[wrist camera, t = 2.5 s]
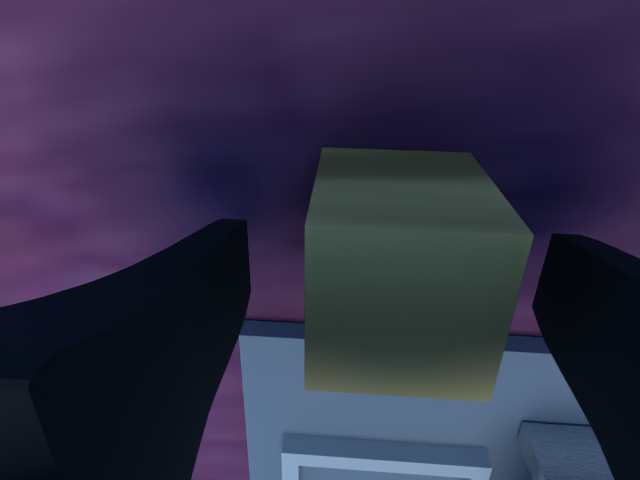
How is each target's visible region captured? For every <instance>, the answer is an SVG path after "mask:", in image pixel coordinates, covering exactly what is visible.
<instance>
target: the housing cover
mask: <svg viewBox="0 0 640 480" xmlns="http://www.w3.org/2000/svg"><path fill="white" fill-rule="evenodd" d="M517 439H518V442H519V445H520V447H521V450H522V453H523V455H524V458H525V461H526V463H527V466H528V469H529V471H530V474H531V477H532V479H533V480H614V478H613V476H612V473H611V471H610V468H609V466H608V464H607V461H606V459H605V456H604V454H603V452H602V449H601V447H600V444H599V442H598V440H597V438H596V436H595V434H594V432H593V430H592V428H591V427H585V426H570V425H556V424H541V423H526V422H522V425H521V429H520V432H519V435H518V438H517Z"/></svg>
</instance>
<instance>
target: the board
mask: <svg viewBox="0 0 640 480" xmlns="http://www.w3.org/2000/svg"><path fill="white" fill-rule="evenodd" d="M304 340H305V323H287V322H270V321H253V320H244V323H243V326H242V329H241V332H240V334H239V344H240V357H241V370H242V383H243V395H244V408H245V421H246V434H247V447H248V460H249V473H250V480H533V479H532V477H531V474H530V471H529V469H528V466H527V463H526V461H525V458H524V455H523V453H522V450H521V447H520V445H519V442H518V439H517V438H518V435H519V432H520V429H521V425H522V422H526V423H541V424H556V425H570V426H585V427H591V426H590V424H589V422H588V420H587V418H586V417H585V415H584V413H583V411H582V409H581V408H580V406H579V404H578V402H577V400H576V398H575V397H574V395H573V393H572V391H571V389H570V388H569V386H568V384H567V382H566V380H565V379H564V377H563V375H562V373H561V371H560V370H559V368H558V366H557V364H556V362H555V360H554V359H553V357H552V355H551V353H550V351H549V349H548V347H547V345H546V343H545V341H544V339H543V337H528V336H511V335H508V337H507V341H506V345H505V349H504V353H503V357H502V360H501V364H500V368H499V372H498V376H497V380H496V384H495V387H494V391H493V395H492V399H491V402H479V401H464V400H448V399H433V398H417V397H401V396H386V395H370V394H355V393H339V392H323V391H308V390H304Z"/></svg>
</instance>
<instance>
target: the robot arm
mask: <svg viewBox="0 0 640 480" xmlns="http://www.w3.org/2000/svg"><path fill="white" fill-rule="evenodd" d="M250 293H251V285H250V268H249V251H248V234H247V220H238V219H220V220H217V221H215V222H213V223H211V224H209V225H207V226H205V227H204V228H202V229H200V230H198V231H197V232H195V233H193V234H191V235H190V236H188V237H186V238H184V239H182V240H181V241H179V242H177V243H175V244H174V245H172V246H170V247H168V248H166V249H164V250H162V251H160V252H158V253H156V254H154V255H152V256H150V257H148V258H146V259H144V260H142V261H140V262H138V263H136V264H134V265H132V266H130V267H127V268H125V269H123V270H120V271H118V272H116V273H113V274H110V275H108V276H105V277H103V278H100V279H97V280H95V281H92V282H89V283H86V284H83V285H80V286H77V287H73V288H70V289H67V290H64V291H60V292H57V293H54V294H51V295H47V296H44V297H41V298H37V299H33V300H29V301H25V302H21V303H17V304H13V305H9V306H4V307H0V480H191V477H192V473H193V469H194V465H195V461H196V457H197V454H198V450H199V446H200V443H201V439H202V435H203V432H204V428H205V425H206V421H207V417H208V414H209V411H210V408H211V406H212V403H213V400H214V397H215V395H216V392H217V390H218V387H219V385H220V382H221V380H222V377H223V375H224V372H225V370H226V367H227V365H228V362H229V360H230V357H231V355H232V352H233V350H234V347H235V344H236V342H237V339H238V337H239V334H240V332H241V329H242V326H243V323H244V319H245V315H246V311H247V307H248V302H249V298H250ZM532 308H533V311H534V314H535V317H536V320H537V323H538V326H539V328H540V331H541V334H542V336H543V339H544V341H545V343H546V345H547V347H548V349H549V351H550V353H551V355H552V357H553V359H554V360H555V362H556V364H557V366H558V368H559V370H560V371H561V373H562V375H563V377H564V379H565V380H566V382H567V384H568V386H569V388H570V389H571V391H572V393H573V395H574V397H575V398H576V400H577V402H578V404H579V406H580V408H581V409H582V411H583V413H584V415H585V417H586V418H587V420H588V422H589V424H590V426H591V428H592V430H593V432H594V434H595V436H596V438H597V440H598V442H599V444H600V447H601V449H602V452H603V454H604V456H605V459H606V461H607V464H608V466H609V468H610V471H611V473H612V476H613V478H614V480H640V259H639V258H637V257H635V256H632V255H630V254H628V253H626V252H623V251H621V250H619V249H617V248H614V247H612V246H610V245H607V244H605V243H603V242H600V241H597V240H595V239H592V238H589V237H586V236H582V235H575V234H553V233H552V236H551V240H550V243H549V247H548V251H547V254H546V258H545V261H544V265H543V268H542V272H541V276H540V279H539V283H538V286H537V290H536V294H535V297H534V301H533V304H532Z"/></svg>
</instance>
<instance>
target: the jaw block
mask: <svg viewBox="0 0 640 480" xmlns="http://www.w3.org/2000/svg"><path fill="white" fill-rule="evenodd" d="M533 237H534V235H533V233H532V232H531V231H530V229H529V228H528V227H527V225H526V224H525V223H524V222H523V220H522V219H521V218H520V216H519V215H518V214H517V212H516V211H515V210H514V209H513V207H512V206H511V205H510V203H509V202H508V201H507V199H506V198H505V197H504V196H503V194H502V193H501V192H500V190H499V189H498V188H497V186H496V185H495V184H494V183H493V181H492V180H491V179H490V177H489V176H488V175H487V173H486V172H485V171H484V169H483V168H482V167H481V166H480V164H479V163H478V162H477V160H476V159H475V158H474V156H473V155H472V154H471V153H468V152H441V151H414V150H387V149H359V148H332V147H322V151H321V156H320V160H319V164H318V169H317V173H316V178H315V182H314V187H313V191H312V195H311V200H310V204H309V209H308V213H307V218H306V222H305V340H304V390H308V391H323V392H339V393H355V394H370V395H386V396H401V397H417V398H433V399H448V400H464V401H479V402H491V399H492V395H493V391H494V387H495V384H496V380H497V376H498V372H499V368H500V364H501V360H502V357H503V353H504V349H505V345H506V341H507V337H508V333H509V330H510V326H511V322H512V318H513V314H514V310H515V307H516V303H517V299H518V295H519V291H520V287H521V283H522V280H523V276H524V272H525V268H526V264H527V260H528V257H529V253H530V249H531V245H532V241H533Z"/></svg>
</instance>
